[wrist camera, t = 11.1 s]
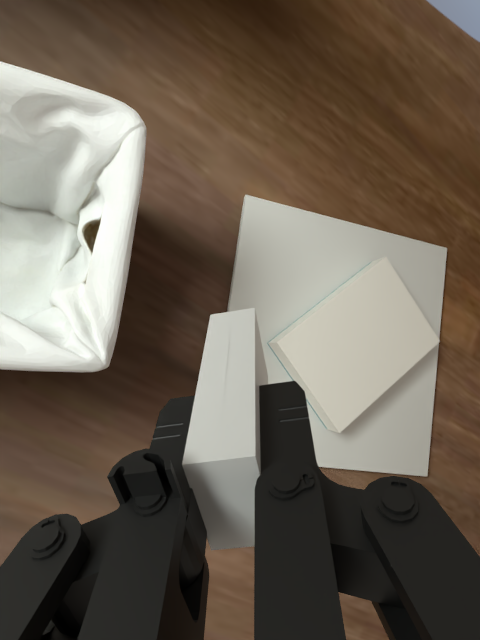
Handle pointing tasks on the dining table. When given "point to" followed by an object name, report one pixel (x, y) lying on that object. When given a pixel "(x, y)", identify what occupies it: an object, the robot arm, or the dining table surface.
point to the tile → (354, 344)
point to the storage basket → (64, 220)
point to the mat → (313, 286)
